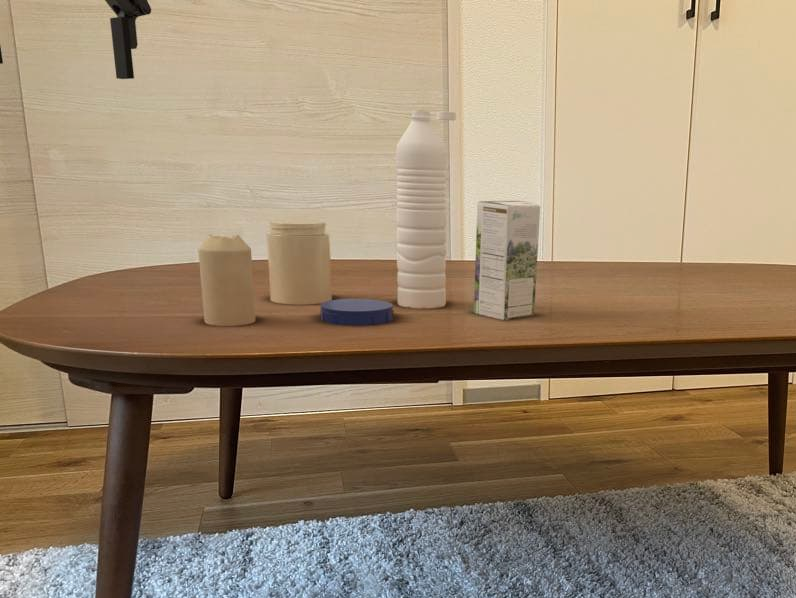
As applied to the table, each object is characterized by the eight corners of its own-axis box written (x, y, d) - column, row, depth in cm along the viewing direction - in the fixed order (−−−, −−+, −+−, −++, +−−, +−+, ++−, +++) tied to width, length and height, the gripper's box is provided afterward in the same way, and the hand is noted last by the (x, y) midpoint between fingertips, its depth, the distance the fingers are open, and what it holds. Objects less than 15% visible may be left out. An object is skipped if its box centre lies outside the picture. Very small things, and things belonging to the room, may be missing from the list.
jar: (294, 308, 100) (290, 224, 97) (258, 299, 104) (253, 219, 101) (344, 301, 106) (341, 222, 103) (307, 293, 110) (304, 218, 107)
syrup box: (504, 310, 105) (507, 199, 101) (536, 317, 101) (541, 202, 97) (473, 314, 101) (475, 199, 96) (505, 322, 97) (508, 202, 93)
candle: (254, 317, 93) (249, 232, 90) (256, 326, 88) (250, 237, 85) (205, 318, 91) (197, 232, 88) (204, 328, 86) (196, 237, 83)
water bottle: (419, 311, 101) (418, 107, 94) (387, 304, 105) (384, 107, 98) (467, 305, 107) (470, 112, 100) (436, 298, 111) (436, 113, 104)
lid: (362, 311, 100) (361, 296, 99) (407, 321, 95) (407, 305, 95) (306, 319, 94) (305, 303, 93) (352, 330, 89) (351, 314, 88)
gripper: (-102, -207, 69) (-59, 54, 75) (171, -119, 88) (187, 82, 94) (-128, -188, 73) (-85, 57, 79) (138, -108, 92) (156, 84, 98)
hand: (63, 71), depth 87 cm, fingers open, 13 cm apart
